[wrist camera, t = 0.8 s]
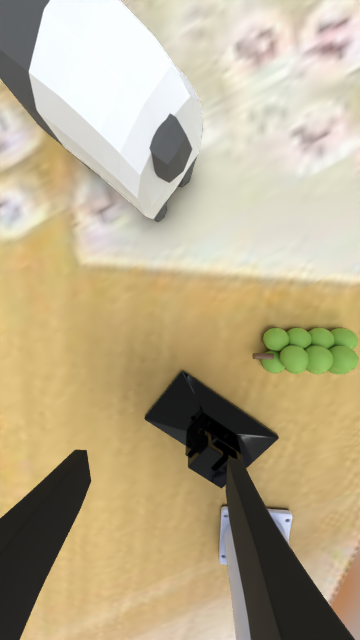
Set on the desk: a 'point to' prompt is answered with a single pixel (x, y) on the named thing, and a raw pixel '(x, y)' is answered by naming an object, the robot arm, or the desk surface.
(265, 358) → the grapes
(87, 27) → the giant panda
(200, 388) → the build plate
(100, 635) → the desk surface
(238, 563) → the robot arm
